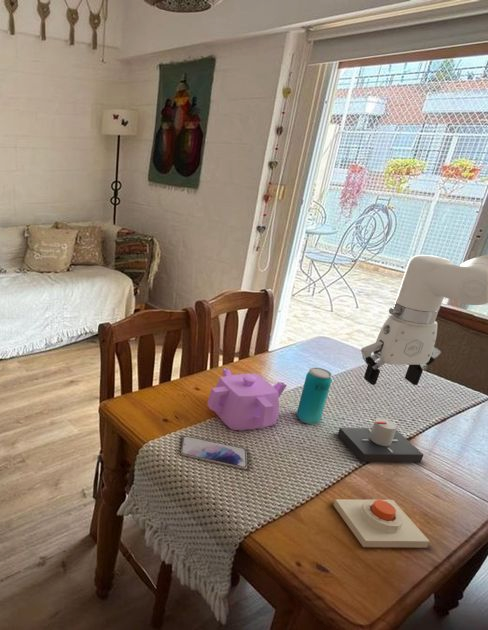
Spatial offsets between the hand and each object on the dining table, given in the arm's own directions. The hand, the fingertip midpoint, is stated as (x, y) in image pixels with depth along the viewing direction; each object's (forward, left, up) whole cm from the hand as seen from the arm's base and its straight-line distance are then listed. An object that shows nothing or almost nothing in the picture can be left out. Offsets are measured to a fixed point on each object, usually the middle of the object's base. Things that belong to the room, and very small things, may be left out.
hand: (390, 381), depth 101 cm
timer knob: (-2, 0, -16) cm, 16 cm away
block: (+13, +23, -19) cm, 33 cm away
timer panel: (-2, 0, -19) cm, 19 cm away
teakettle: (+26, -14, -20) cm, 35 cm away
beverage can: (+9, -12, -20) cm, 24 cm away
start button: (+13, +23, -16) cm, 31 cm away
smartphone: (+39, +2, -19) cm, 43 cm away
